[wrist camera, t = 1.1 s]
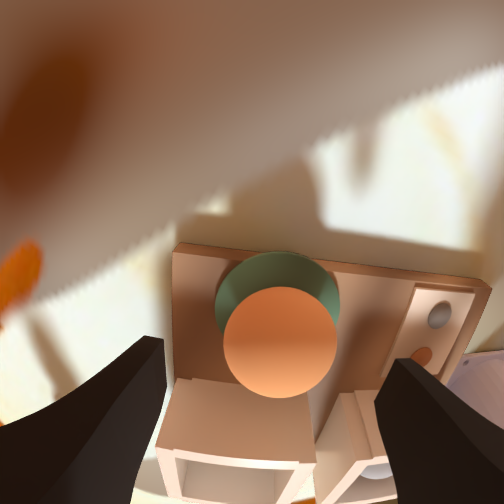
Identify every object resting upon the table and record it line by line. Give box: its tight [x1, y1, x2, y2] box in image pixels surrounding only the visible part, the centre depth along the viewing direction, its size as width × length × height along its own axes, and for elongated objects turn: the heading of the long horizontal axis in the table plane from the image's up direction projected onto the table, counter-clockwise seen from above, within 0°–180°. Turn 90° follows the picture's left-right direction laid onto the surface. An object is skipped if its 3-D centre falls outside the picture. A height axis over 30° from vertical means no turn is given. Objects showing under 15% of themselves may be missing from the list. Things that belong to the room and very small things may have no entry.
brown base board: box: [172, 243, 492, 445], centre depth 14 cm, size 16×14×2 cm
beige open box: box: [155, 378, 317, 504], centre depth 13 cm, size 7×7×4 cm
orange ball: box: [223, 287, 337, 398], centre depth 10 cm, size 4×4×4 cm
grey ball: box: [360, 463, 393, 479], centre depth 13 cm, size 4×4×4 cm
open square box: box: [313, 390, 397, 504], centre depth 13 cm, size 7×7×4 cm
